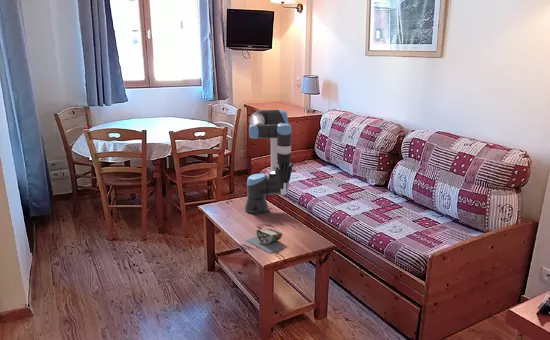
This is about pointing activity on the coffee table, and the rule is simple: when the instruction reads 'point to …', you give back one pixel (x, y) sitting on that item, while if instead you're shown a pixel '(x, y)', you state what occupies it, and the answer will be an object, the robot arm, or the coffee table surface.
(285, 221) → the coffee table surface
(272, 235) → the food container
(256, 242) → the mat
